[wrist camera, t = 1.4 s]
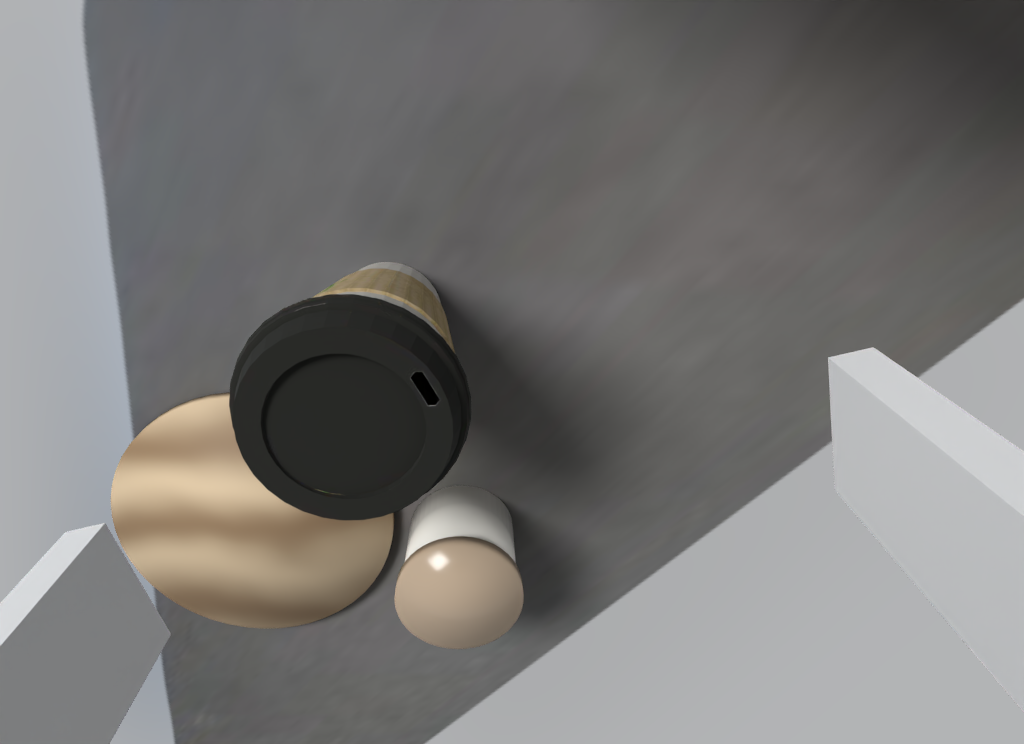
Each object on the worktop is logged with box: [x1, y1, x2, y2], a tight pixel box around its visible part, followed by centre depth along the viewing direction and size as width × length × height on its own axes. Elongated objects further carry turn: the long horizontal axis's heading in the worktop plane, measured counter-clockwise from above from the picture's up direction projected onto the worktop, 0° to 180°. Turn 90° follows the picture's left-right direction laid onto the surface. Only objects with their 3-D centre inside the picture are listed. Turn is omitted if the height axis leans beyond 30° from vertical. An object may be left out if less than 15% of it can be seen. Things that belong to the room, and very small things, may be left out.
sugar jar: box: [395, 485, 524, 649], centre depth 43 cm, size 8×8×7 cm
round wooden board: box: [111, 392, 394, 628], centre depth 44 cm, size 18×18×1 cm
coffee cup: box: [229, 262, 471, 520], centre depth 33 cm, size 10×10×15 cm
